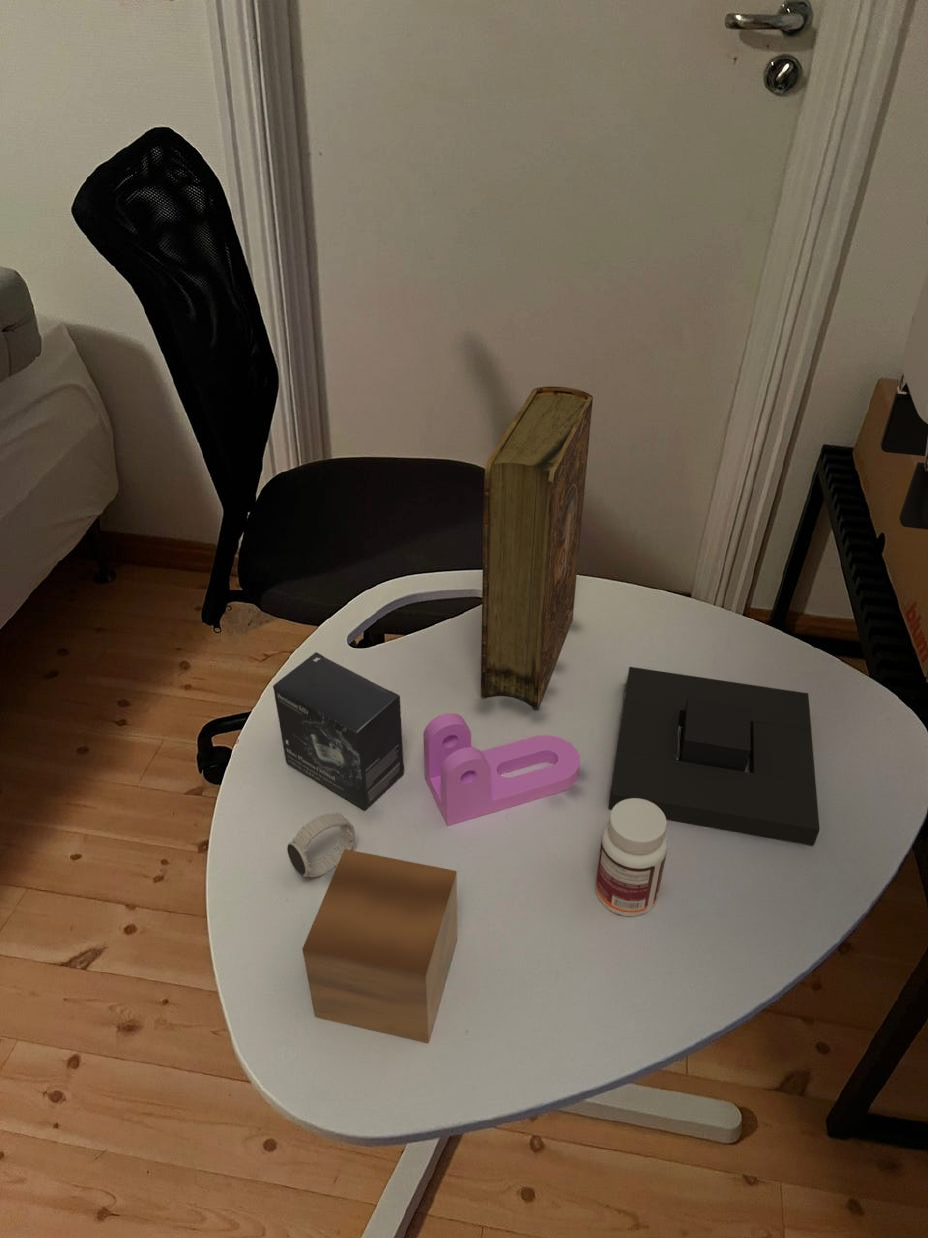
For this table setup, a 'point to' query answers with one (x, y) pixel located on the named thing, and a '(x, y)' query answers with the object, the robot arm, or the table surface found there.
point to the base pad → (713, 796)
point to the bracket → (491, 770)
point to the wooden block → (383, 945)
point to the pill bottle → (632, 857)
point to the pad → (716, 734)
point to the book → (532, 541)
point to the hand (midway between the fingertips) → (914, 487)
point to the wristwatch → (311, 831)
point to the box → (340, 729)
